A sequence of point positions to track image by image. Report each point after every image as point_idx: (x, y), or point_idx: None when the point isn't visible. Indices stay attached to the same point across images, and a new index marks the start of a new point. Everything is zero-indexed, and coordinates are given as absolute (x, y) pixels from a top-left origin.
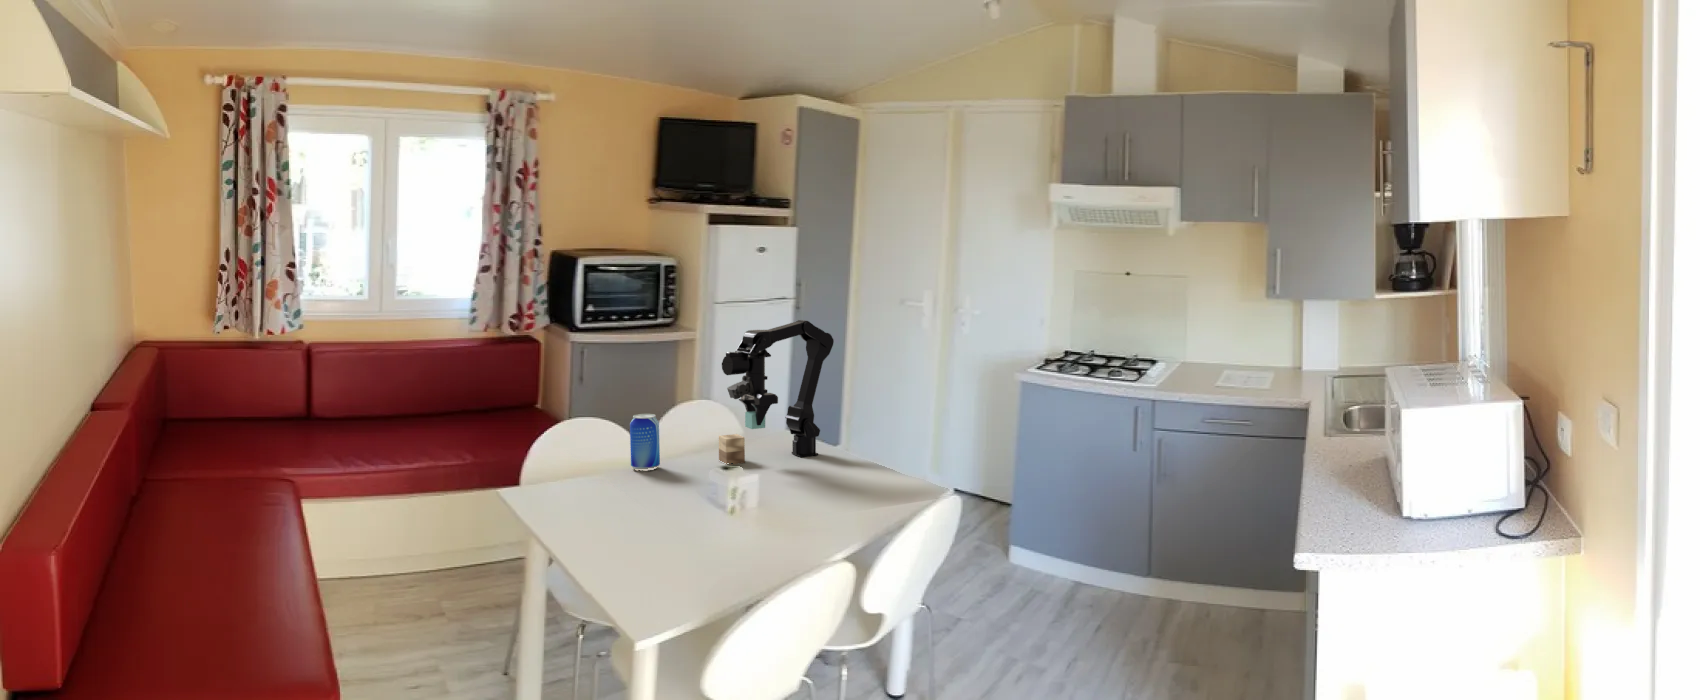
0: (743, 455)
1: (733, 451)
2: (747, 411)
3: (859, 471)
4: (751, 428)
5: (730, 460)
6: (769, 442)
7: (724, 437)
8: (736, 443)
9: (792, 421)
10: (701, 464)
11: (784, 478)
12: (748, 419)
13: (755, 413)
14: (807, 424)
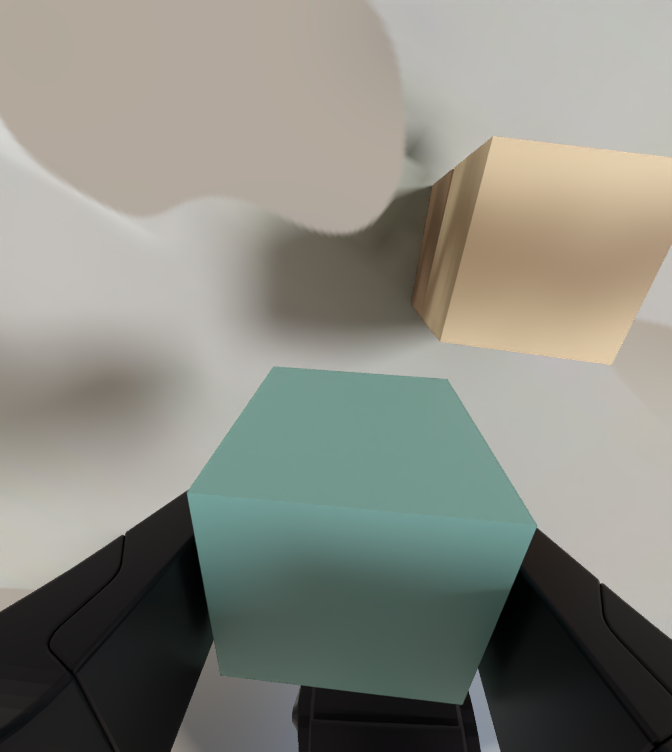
0: (419, 304)
1: (440, 233)
2: (565, 586)
3: (71, 546)
4: (281, 369)
5: (431, 212)
6: (661, 577)
7: (586, 175)
8: (448, 261)
9: (386, 706)
10: (563, 21)
11: (30, 296)
12: (362, 427)
13: (257, 579)
14: (296, 711)
